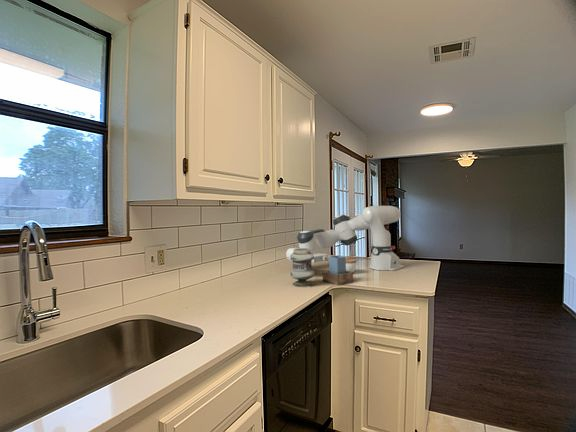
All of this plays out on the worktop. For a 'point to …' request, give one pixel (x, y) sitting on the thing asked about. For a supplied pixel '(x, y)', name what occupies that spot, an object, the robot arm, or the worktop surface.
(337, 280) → the walnut crate
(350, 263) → the lidded jar
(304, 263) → the apothecary jar
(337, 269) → the slate crate
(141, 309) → the worktop surface
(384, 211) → the robot arm
